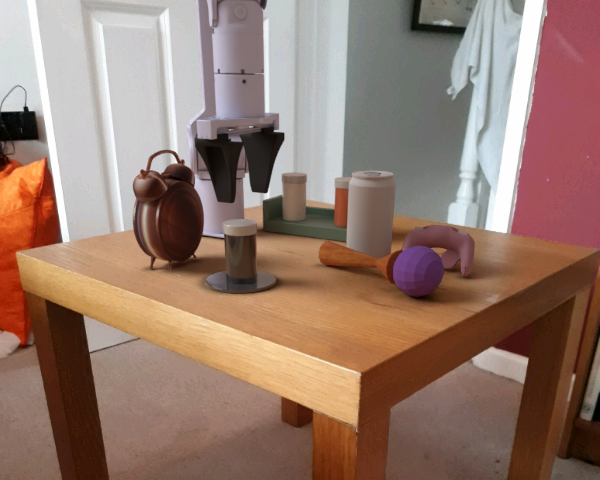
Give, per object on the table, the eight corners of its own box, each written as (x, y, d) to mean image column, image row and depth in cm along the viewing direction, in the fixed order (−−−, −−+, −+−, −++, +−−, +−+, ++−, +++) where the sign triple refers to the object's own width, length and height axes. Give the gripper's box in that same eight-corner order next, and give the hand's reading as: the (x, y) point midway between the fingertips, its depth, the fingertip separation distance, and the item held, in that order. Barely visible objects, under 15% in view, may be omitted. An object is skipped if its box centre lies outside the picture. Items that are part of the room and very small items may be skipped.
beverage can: (389, 255, 94) (395, 169, 88) (390, 267, 88) (397, 176, 82) (346, 253, 94) (349, 168, 89) (345, 265, 89) (348, 175, 83)
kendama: (346, 232, 89) (458, 250, 74) (341, 274, 91) (449, 300, 76) (313, 229, 86) (424, 247, 71) (308, 274, 87) (415, 301, 73)
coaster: (191, 286, 80) (191, 283, 80) (231, 268, 87) (231, 266, 87) (251, 297, 76) (251, 294, 76) (288, 278, 83) (288, 275, 83)
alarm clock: (182, 253, 94) (173, 145, 87) (209, 257, 92) (202, 147, 85) (134, 272, 85) (120, 153, 78) (163, 277, 83) (151, 155, 76)
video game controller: (471, 282, 87) (479, 231, 87) (469, 276, 82) (478, 222, 82) (399, 275, 90) (407, 226, 89) (395, 268, 85) (403, 217, 85)
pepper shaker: (218, 281, 80) (215, 223, 77) (237, 273, 84) (235, 217, 80) (246, 286, 79) (244, 227, 75) (264, 277, 82) (263, 221, 79)
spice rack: (263, 230, 107) (262, 200, 105) (289, 220, 114) (289, 192, 112) (360, 243, 100) (361, 211, 98) (381, 232, 107) (383, 201, 105)
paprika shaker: (328, 226, 103) (330, 179, 99) (340, 221, 106) (341, 176, 103) (352, 228, 101) (354, 181, 98) (363, 223, 104) (365, 178, 101)
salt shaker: (277, 219, 107) (276, 174, 104) (289, 215, 110) (289, 171, 107) (298, 222, 105) (299, 176, 102) (310, 217, 108) (311, 173, 105)
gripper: (232, 75, 65) (237, 210, 71) (300, 74, 76) (299, 191, 83) (177, 74, 68) (187, 204, 74) (251, 73, 79) (254, 186, 86)
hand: (243, 197), depth 79 cm, fingers open, 7 cm apart
